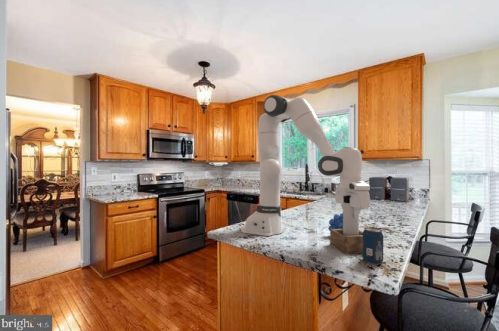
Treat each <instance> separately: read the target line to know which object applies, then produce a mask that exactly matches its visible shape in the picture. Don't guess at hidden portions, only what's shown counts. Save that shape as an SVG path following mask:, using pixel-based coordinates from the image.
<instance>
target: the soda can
mask: <svg viewBox="0 0 499 331" xmlns="http://www.w3.org/2000/svg"><path fill="white" fill-rule="evenodd" d="M362 232H363V243H362V254H361V256H362V259H363V261H364V262H366V263H367V264H371V265H381V264H382V263H383V261H384V234H383V232H382V229H380V228H378V227H377V228H376V227H364V229H363V231H362Z"/></svg>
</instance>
